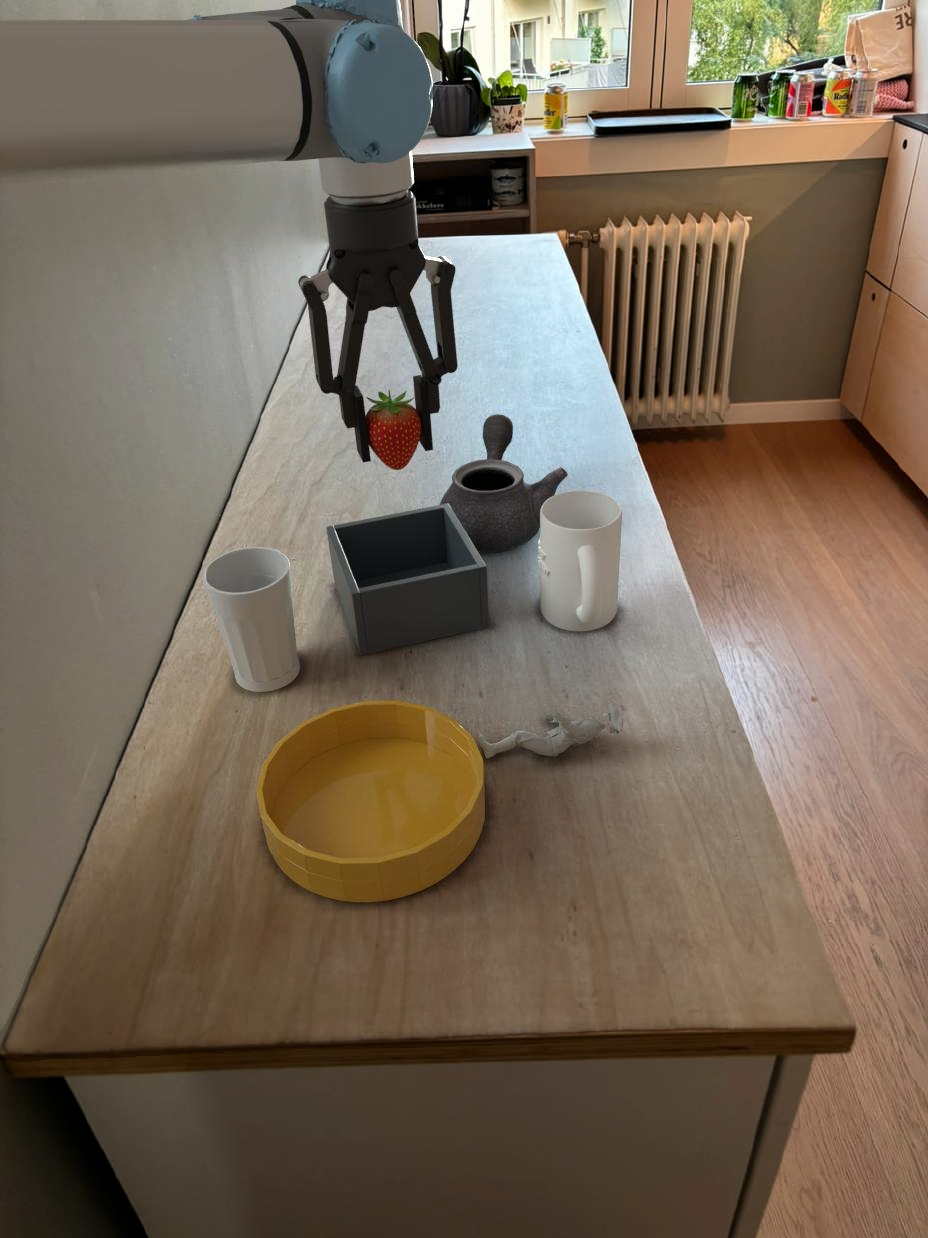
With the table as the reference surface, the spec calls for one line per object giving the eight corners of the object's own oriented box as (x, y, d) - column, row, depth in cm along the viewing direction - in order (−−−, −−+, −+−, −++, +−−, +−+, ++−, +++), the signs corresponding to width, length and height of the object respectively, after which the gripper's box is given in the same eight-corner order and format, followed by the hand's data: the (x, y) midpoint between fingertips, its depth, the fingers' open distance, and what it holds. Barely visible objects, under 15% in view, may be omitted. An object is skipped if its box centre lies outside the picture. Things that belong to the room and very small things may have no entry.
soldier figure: (481, 736, 89) (601, 681, 89) (503, 786, 89) (624, 730, 88) (474, 736, 82) (605, 675, 81) (498, 790, 81) (631, 729, 81)
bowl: (284, 930, 72) (274, 890, 69) (253, 766, 86) (244, 728, 84) (515, 866, 76) (514, 826, 73) (450, 719, 90) (447, 681, 87)
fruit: (376, 484, 92) (367, 405, 88) (363, 461, 96) (353, 384, 92) (431, 473, 94) (424, 394, 89) (415, 451, 98) (409, 374, 93)
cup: (322, 675, 96) (304, 573, 89) (247, 708, 93) (222, 604, 85) (286, 637, 101) (267, 537, 94) (214, 666, 98) (188, 565, 91)
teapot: (574, 554, 112) (576, 475, 106) (439, 563, 111) (433, 485, 105) (553, 477, 127) (553, 404, 121) (434, 485, 127) (429, 412, 121)
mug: (549, 659, 96) (550, 556, 89) (533, 591, 106) (532, 493, 99) (632, 652, 97) (639, 548, 90) (608, 585, 106) (613, 486, 99)
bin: (360, 655, 98) (351, 594, 94) (334, 584, 109) (325, 526, 104) (489, 627, 101) (486, 566, 97) (452, 560, 112) (448, 503, 107)
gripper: (463, 170, 85) (474, 418, 99) (250, 196, 81) (293, 450, 95) (489, 188, 79) (498, 449, 93) (262, 217, 76) (306, 485, 89)
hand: (395, 449), depth 94 cm, fingers closed on fruit, 5 cm apart
